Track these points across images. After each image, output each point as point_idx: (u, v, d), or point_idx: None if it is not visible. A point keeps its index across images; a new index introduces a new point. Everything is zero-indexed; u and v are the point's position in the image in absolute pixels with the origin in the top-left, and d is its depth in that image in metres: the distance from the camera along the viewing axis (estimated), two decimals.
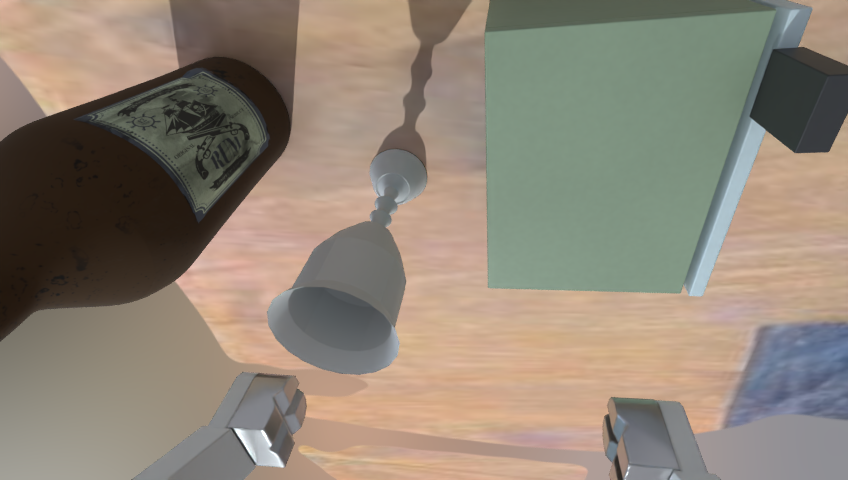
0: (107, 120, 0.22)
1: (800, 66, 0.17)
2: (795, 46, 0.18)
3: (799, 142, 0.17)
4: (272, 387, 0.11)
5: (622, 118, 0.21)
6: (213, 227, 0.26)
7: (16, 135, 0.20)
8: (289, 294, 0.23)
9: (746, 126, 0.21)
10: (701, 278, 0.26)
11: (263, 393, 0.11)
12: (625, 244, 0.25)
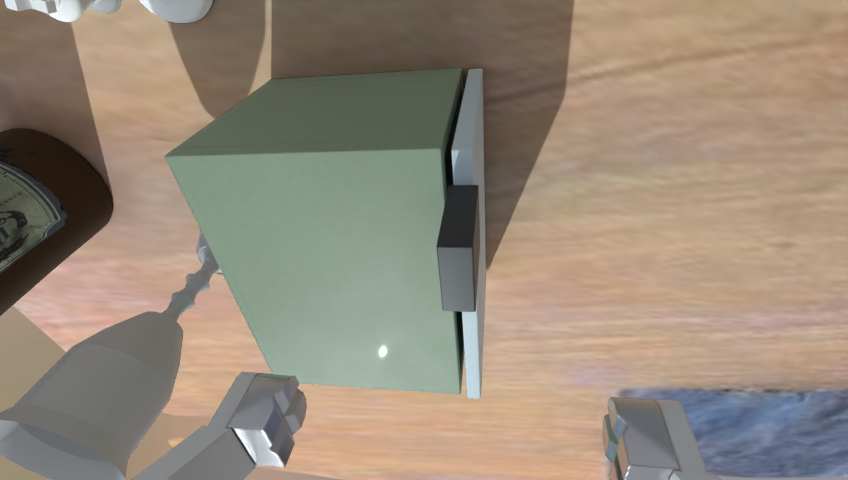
0: None
1: (442, 220, 0.15)
2: (469, 183, 0.17)
3: None
4: (273, 386, 0.11)
5: (334, 239, 0.20)
6: None
7: None
8: None
9: None
10: (472, 384, 0.25)
11: (263, 393, 0.11)
12: (388, 350, 0.24)
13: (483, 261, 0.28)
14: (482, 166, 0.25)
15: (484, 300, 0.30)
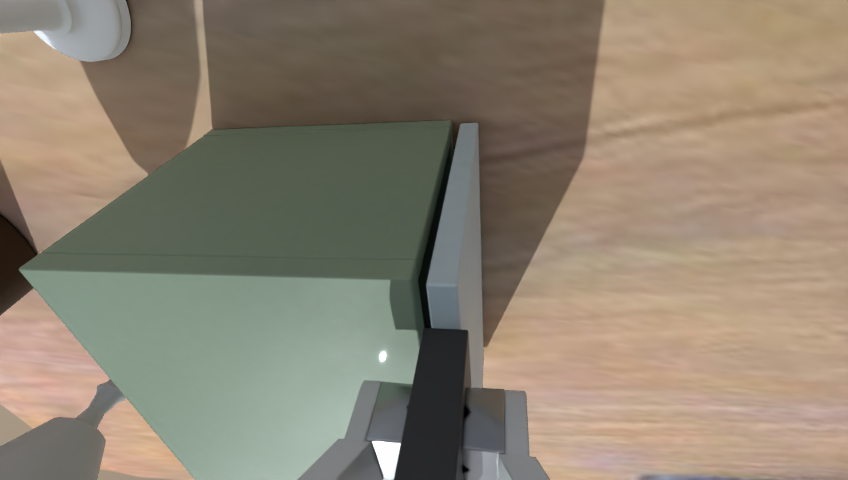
0: None
1: (408, 407, 0.10)
2: (454, 327, 0.11)
3: None
4: (403, 396, 0.10)
5: (268, 375, 0.14)
6: None
7: None
8: None
9: None
10: None
11: (395, 403, 0.10)
12: None
13: None
14: (478, 246, 0.20)
15: None
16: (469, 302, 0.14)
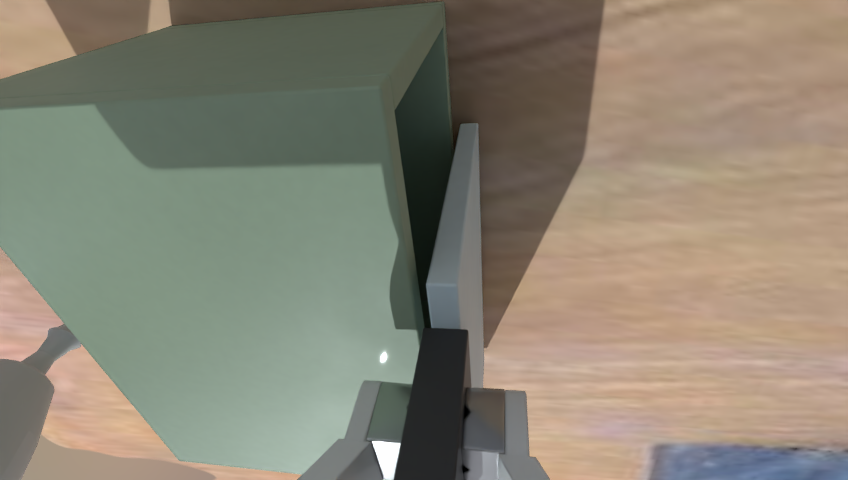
0: None
1: (408, 407, 0.10)
2: (454, 327, 0.11)
3: None
4: (403, 396, 0.10)
5: (214, 265, 0.11)
6: None
7: None
8: None
9: None
10: None
11: (395, 403, 0.10)
12: (329, 429, 0.16)
13: None
14: (478, 246, 0.20)
15: None
16: (469, 302, 0.14)
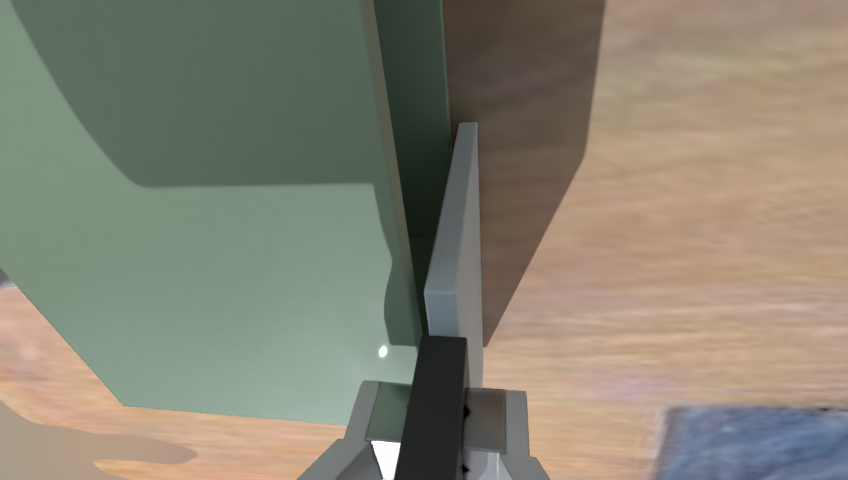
0: None
1: (405, 419, 0.09)
2: (453, 335, 0.11)
3: None
4: (402, 396, 0.10)
5: (115, 98, 0.09)
6: None
7: None
8: None
9: None
10: None
11: (394, 403, 0.10)
12: (291, 354, 0.13)
13: (479, 357, 0.22)
14: (477, 247, 0.19)
15: None
16: (468, 306, 0.14)
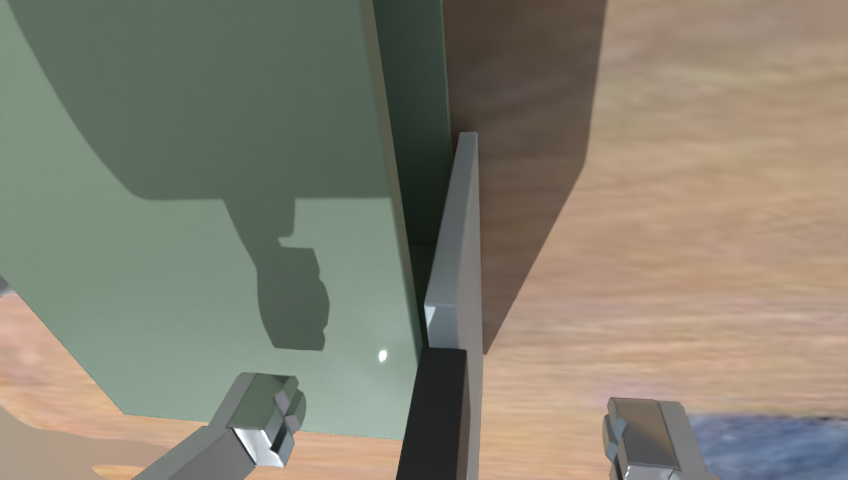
0: None
1: (406, 432, 0.09)
2: (453, 347, 0.11)
3: None
4: (272, 386, 0.11)
5: (120, 113, 0.09)
6: None
7: None
8: None
9: None
10: None
11: (263, 393, 0.11)
12: (292, 364, 0.13)
13: (479, 365, 0.22)
14: (477, 255, 0.19)
15: None
16: (468, 317, 0.14)
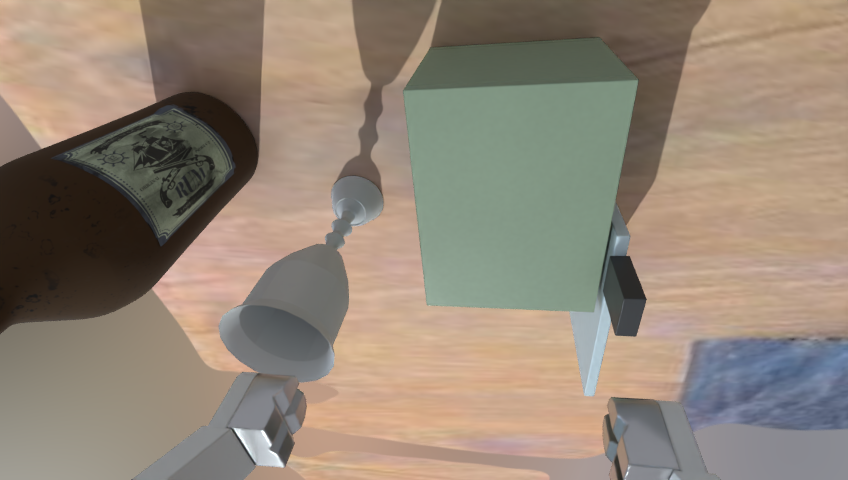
0: (80, 158, 0.25)
1: (617, 280, 0.25)
2: (624, 255, 0.27)
3: (617, 329, 0.25)
4: (272, 386, 0.11)
5: (525, 163, 0.25)
6: (177, 249, 0.29)
7: (0, 172, 0.24)
8: (239, 311, 0.26)
9: (603, 294, 0.29)
10: (590, 385, 0.34)
11: (263, 393, 0.11)
12: (541, 268, 0.29)
13: None
14: None
15: None
16: None
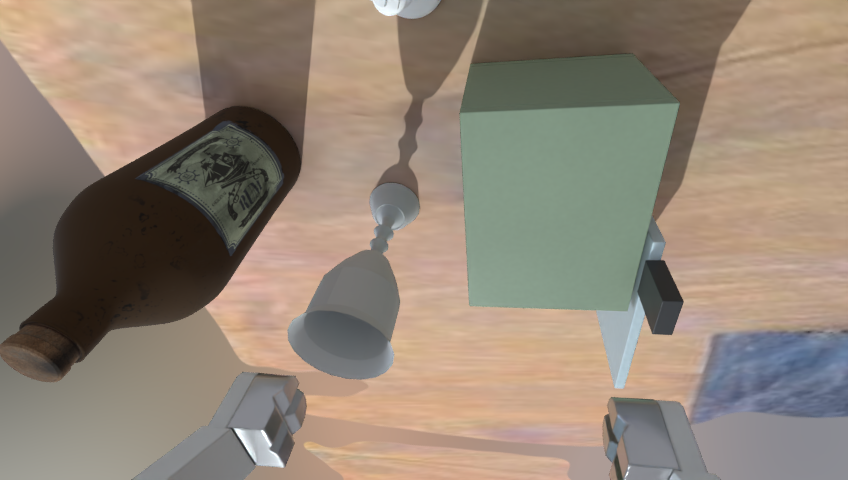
0: (160, 177, 0.27)
1: (654, 284, 0.28)
2: (658, 259, 0.29)
3: (654, 328, 0.28)
4: (272, 386, 0.11)
5: (570, 177, 0.27)
6: (240, 258, 0.32)
7: (92, 193, 0.26)
8: (305, 315, 0.29)
9: (637, 295, 0.32)
10: (621, 378, 0.37)
11: (263, 393, 0.11)
12: (579, 272, 0.31)
13: None
14: None
15: None
16: None
